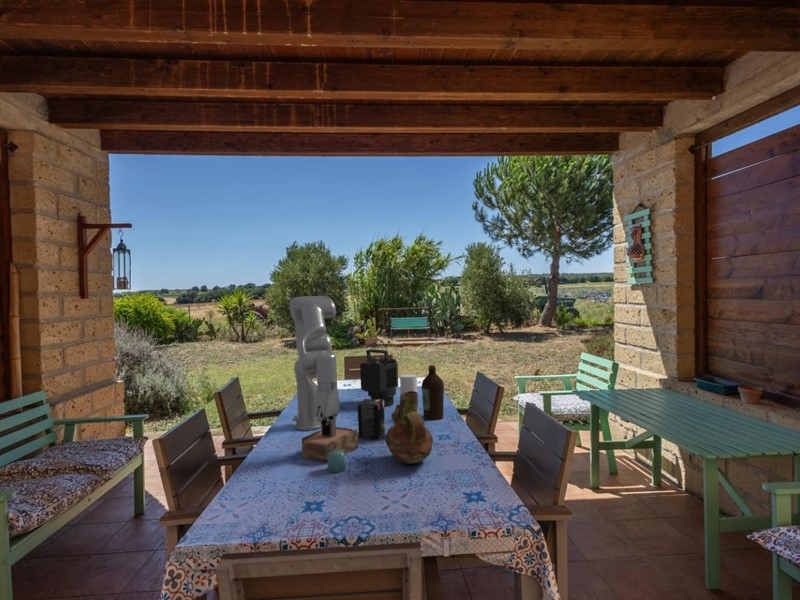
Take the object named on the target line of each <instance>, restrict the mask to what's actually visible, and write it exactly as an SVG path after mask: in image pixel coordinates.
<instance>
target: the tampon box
mask: <svg viewBox="0 0 800 600" xmlns="http://www.w3.org/2000/svg"><path fill="white" fill-rule="evenodd" d="M385 419H386V417H385V407H384V399H371V398H364V399H363V400H361V401H360V402H358V404H357V422H358V427H357V431H358V440H374V441H375V440H379V441H380V440H381V438H382V437H383V436H384V435H385V434H386V427H385V424H386V421H385Z"/></svg>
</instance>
